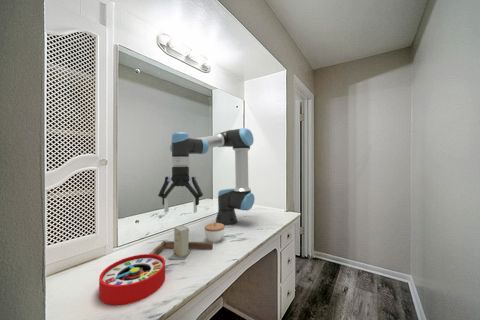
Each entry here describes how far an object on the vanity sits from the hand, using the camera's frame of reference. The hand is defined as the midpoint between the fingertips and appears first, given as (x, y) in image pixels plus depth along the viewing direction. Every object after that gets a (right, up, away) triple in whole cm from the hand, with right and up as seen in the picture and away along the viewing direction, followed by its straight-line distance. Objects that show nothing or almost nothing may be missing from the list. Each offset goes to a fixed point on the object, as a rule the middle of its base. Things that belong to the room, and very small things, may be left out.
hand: (180, 212), depth 87 cm
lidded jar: (+14, -20, +16) cm, 29 cm away
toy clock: (-10, -20, -21) cm, 31 cm away
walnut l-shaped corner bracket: (+1, -19, -1) cm, 20 cm away
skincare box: (0, -19, 0) cm, 19 cm away
